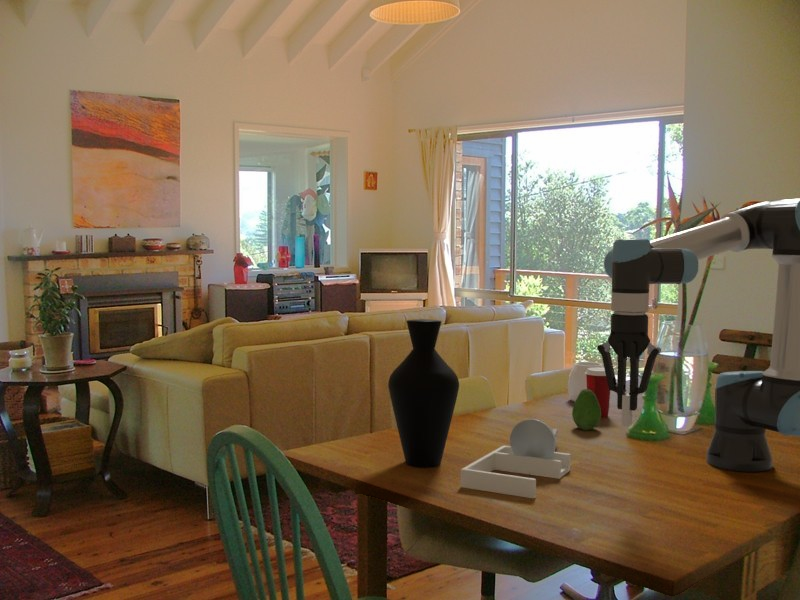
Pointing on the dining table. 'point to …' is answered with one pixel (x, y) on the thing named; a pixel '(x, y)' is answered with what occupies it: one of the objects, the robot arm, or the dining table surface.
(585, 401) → the fruit
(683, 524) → the dining table surface
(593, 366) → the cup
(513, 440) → the grey plate
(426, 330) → the vase
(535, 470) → the dish rack
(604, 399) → the coffee cup
